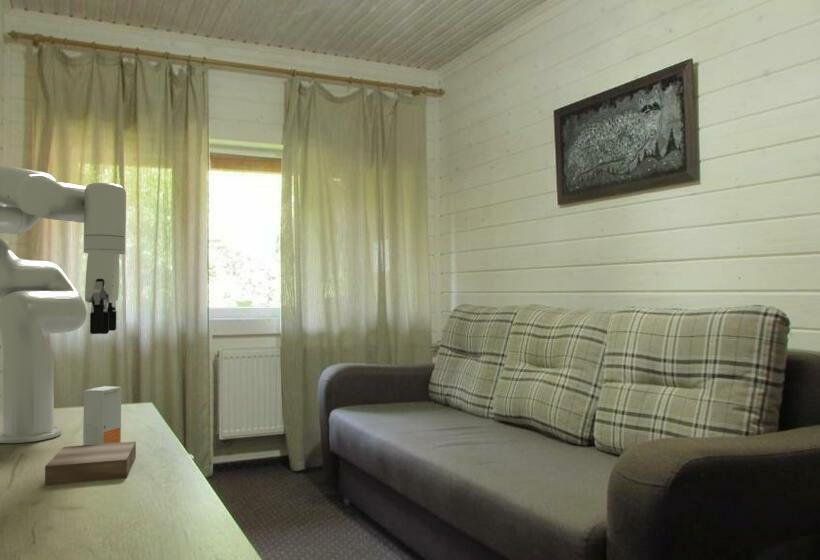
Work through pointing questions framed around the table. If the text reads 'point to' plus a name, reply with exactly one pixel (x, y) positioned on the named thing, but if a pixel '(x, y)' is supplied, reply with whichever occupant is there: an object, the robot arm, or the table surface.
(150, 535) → the table surface
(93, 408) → the skincare box
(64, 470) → the block
